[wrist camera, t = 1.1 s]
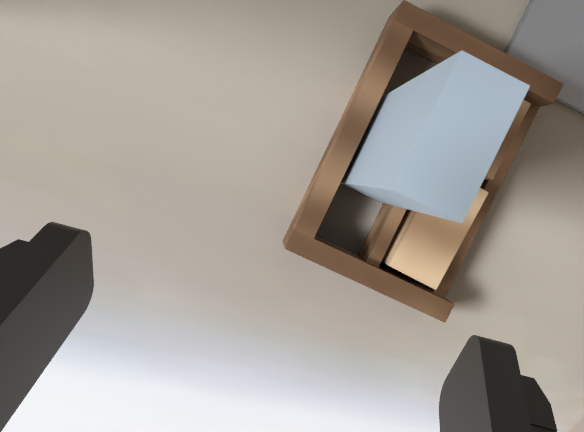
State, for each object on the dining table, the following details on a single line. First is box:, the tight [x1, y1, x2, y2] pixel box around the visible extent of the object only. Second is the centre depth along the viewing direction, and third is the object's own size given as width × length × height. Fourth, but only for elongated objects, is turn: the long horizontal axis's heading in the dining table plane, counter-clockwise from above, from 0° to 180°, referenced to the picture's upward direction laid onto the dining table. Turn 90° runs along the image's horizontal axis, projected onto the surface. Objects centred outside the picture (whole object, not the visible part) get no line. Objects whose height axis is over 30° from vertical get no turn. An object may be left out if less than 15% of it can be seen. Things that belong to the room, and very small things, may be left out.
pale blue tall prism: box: [341, 50, 530, 223], centre depth 33 cm, size 7×4×17 cm, turn 155°
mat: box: [505, 0, 584, 114], centre depth 41 cm, size 10×10×1 cm
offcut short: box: [484, 100, 531, 180], centre depth 40 cm, size 6×4×4 cm, turn 154°
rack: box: [283, 0, 564, 322], centre depth 39 cm, size 19×13×4 cm
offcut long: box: [382, 188, 489, 290], centre depth 40 cm, size 8×4×4 cm, turn 153°
